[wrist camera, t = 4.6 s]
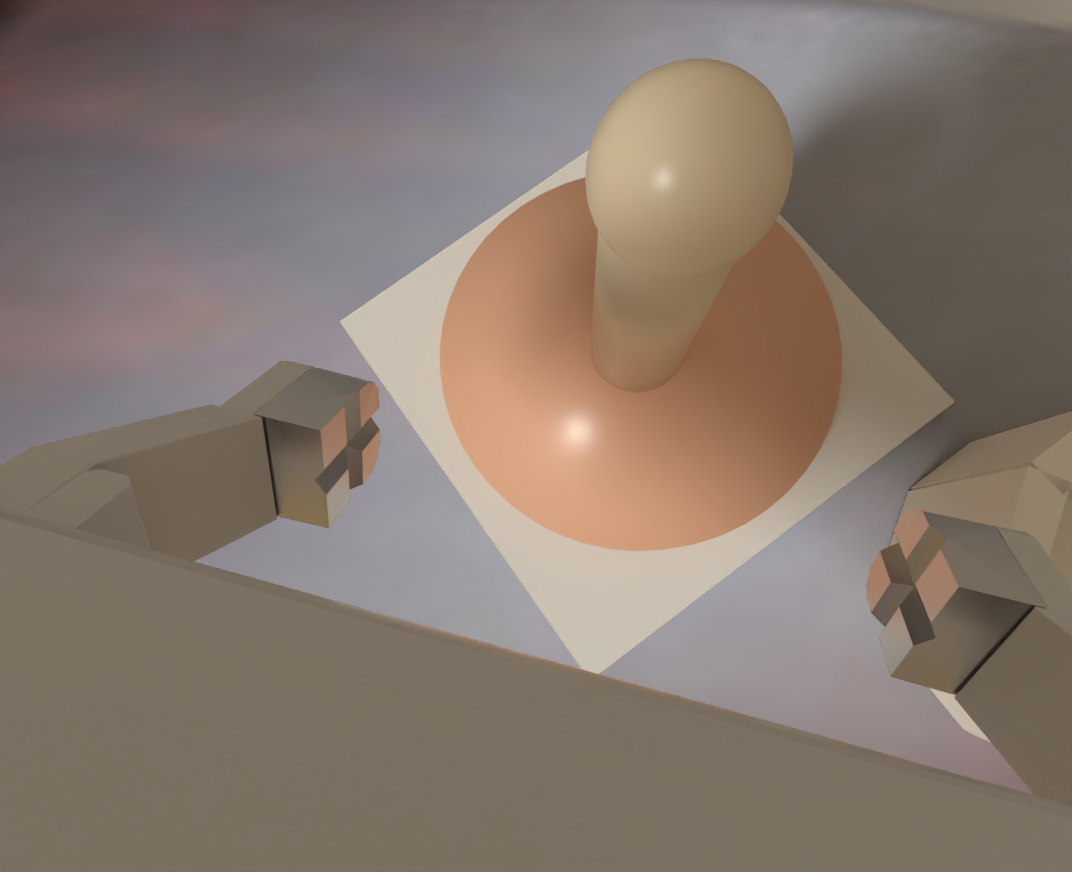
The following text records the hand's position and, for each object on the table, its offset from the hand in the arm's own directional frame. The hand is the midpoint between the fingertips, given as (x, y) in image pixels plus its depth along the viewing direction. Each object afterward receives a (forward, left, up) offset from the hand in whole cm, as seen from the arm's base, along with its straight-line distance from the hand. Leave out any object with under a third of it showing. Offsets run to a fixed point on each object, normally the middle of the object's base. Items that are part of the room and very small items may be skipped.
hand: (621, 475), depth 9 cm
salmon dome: (-4, +4, -11) cm, 12 cm away
